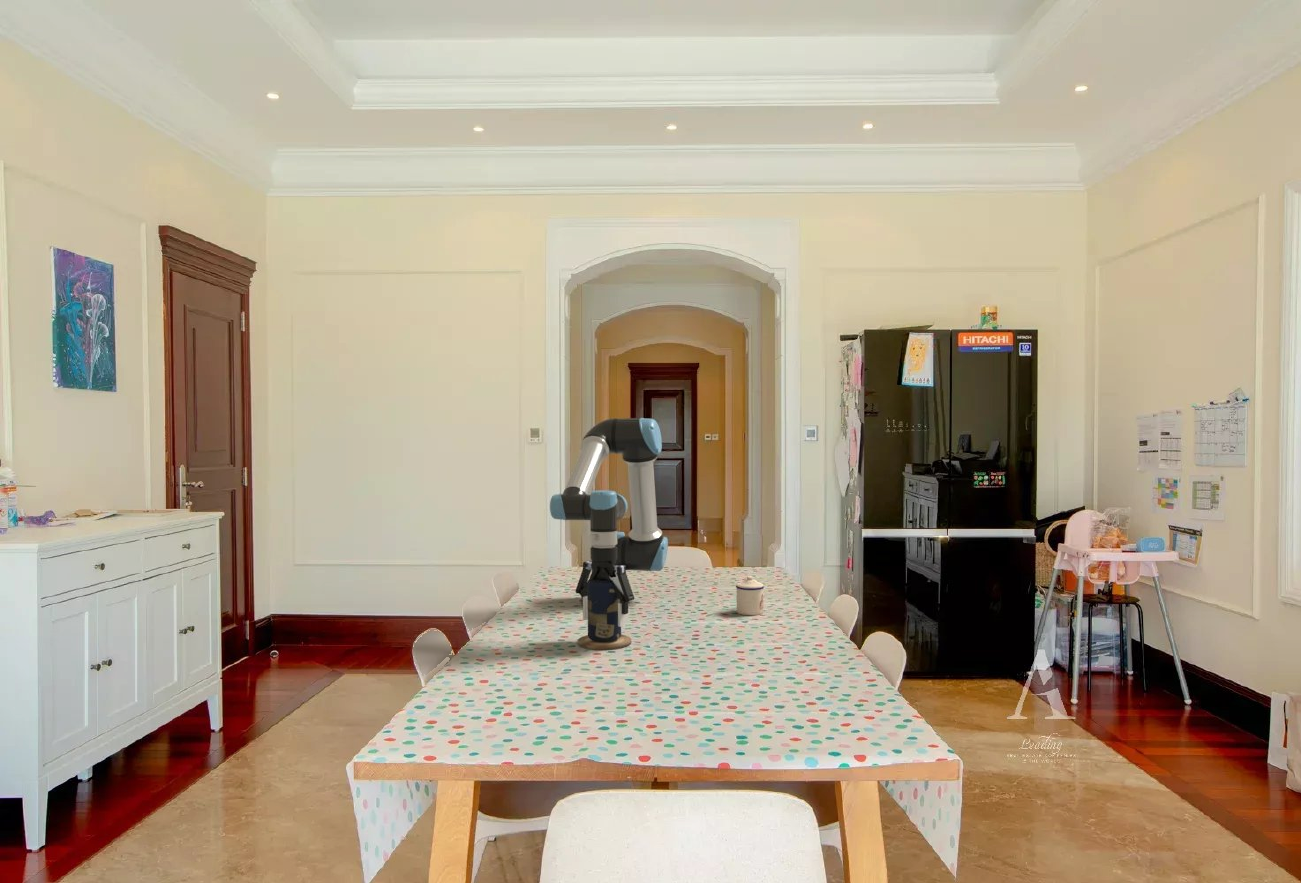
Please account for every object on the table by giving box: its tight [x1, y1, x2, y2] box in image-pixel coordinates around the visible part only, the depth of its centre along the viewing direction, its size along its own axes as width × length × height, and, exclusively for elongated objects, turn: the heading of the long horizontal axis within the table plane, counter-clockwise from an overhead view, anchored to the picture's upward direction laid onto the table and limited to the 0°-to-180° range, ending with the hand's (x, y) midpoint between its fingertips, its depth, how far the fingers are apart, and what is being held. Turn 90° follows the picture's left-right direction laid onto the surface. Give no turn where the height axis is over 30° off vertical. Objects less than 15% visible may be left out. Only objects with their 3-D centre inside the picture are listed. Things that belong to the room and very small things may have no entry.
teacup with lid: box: [735, 575, 765, 616], centre depth 272 cm, size 12×9×12 cm
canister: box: [587, 577, 622, 642], centre depth 235 cm, size 10×10×18 cm
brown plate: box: [577, 633, 632, 651], centre depth 235 cm, size 15×15×1 cm
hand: (604, 622), depth 235 cm, fingers open, 12 cm apart
